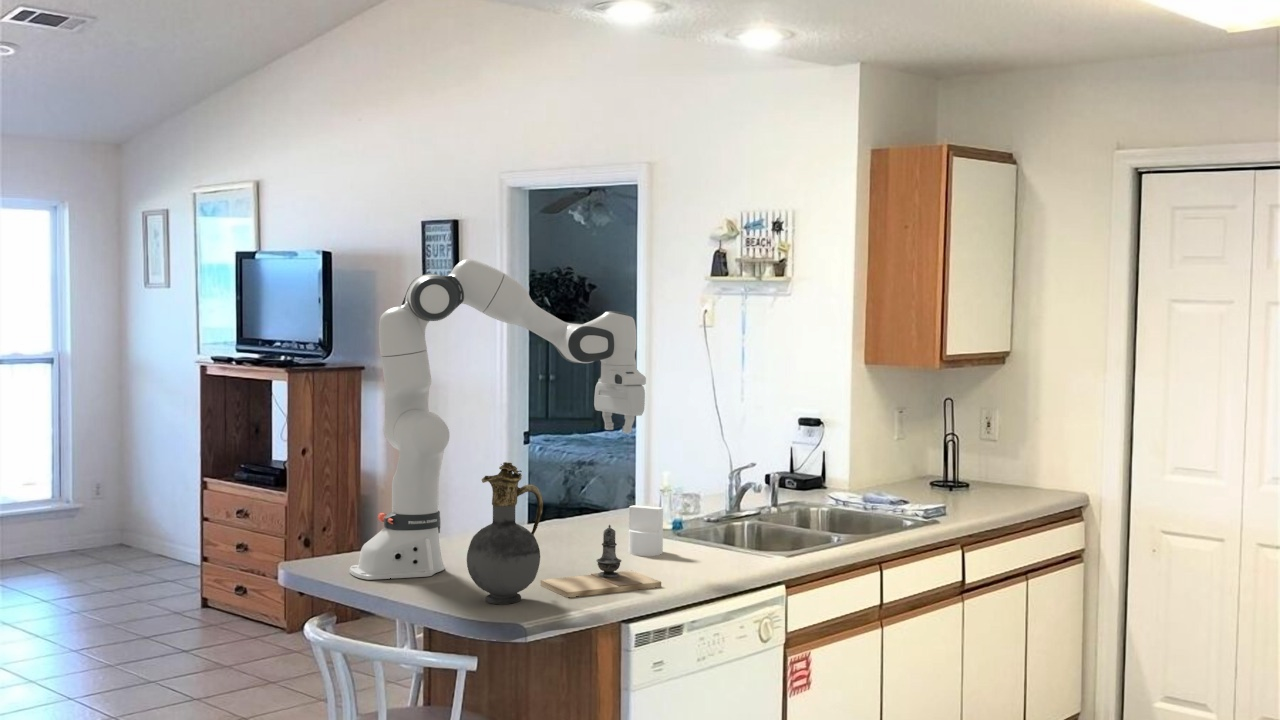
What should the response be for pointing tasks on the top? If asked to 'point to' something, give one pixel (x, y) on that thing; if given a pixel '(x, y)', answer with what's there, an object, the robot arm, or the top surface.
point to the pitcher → (505, 542)
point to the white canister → (645, 530)
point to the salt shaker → (608, 555)
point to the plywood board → (599, 584)
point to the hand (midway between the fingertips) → (618, 431)
